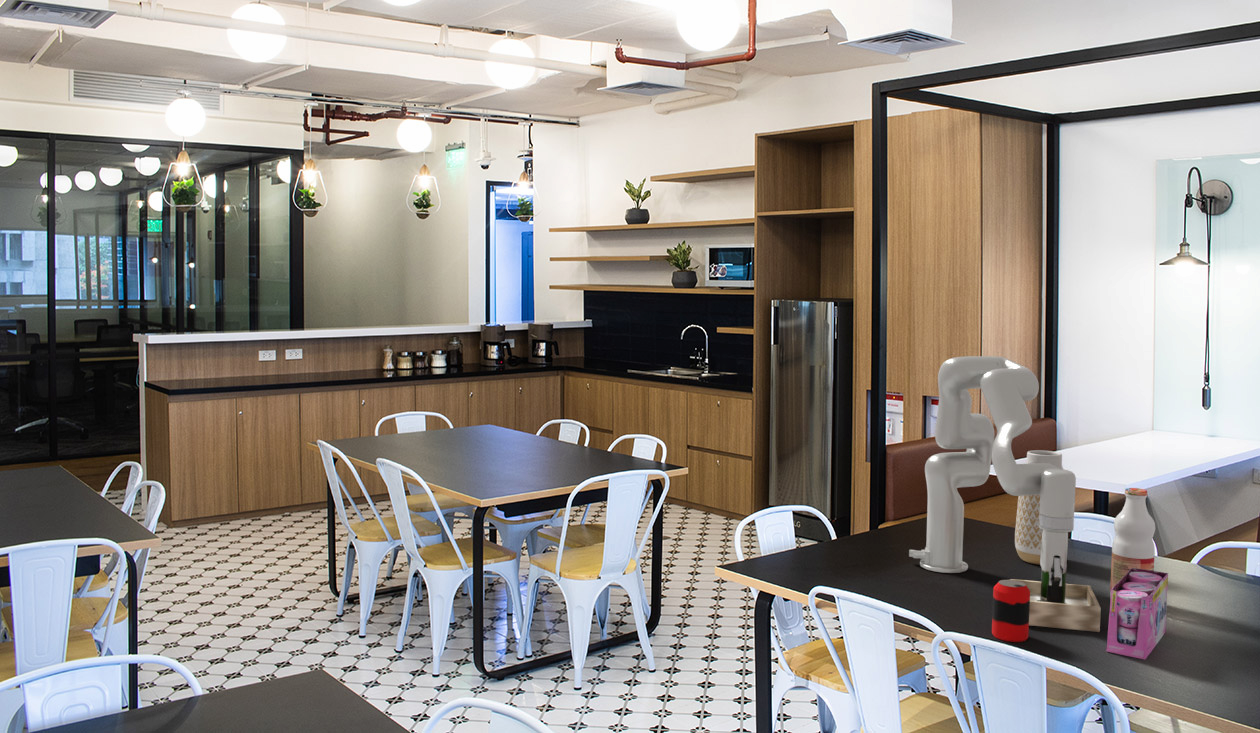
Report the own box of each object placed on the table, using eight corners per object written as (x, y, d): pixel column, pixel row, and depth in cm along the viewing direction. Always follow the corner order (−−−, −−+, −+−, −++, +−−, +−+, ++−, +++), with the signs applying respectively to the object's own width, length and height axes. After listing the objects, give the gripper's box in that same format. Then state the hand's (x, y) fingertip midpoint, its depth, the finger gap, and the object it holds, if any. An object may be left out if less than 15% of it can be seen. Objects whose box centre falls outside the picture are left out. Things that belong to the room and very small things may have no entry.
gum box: (1145, 662, 215) (1148, 598, 214) (1104, 654, 220) (1107, 591, 219) (1166, 631, 234) (1169, 572, 233) (1128, 624, 239) (1130, 566, 238)
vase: (1076, 562, 292) (1081, 454, 289) (1047, 570, 284) (1051, 458, 281) (1033, 551, 303) (1037, 447, 300) (1003, 558, 295) (1007, 451, 293)
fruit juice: (1107, 594, 262) (1112, 484, 259) (1148, 598, 259) (1154, 487, 257) (1112, 605, 253) (1117, 491, 251) (1155, 609, 250) (1161, 494, 248)
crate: (1014, 623, 239) (1015, 600, 238) (1009, 600, 256) (1010, 578, 255) (1099, 631, 234) (1100, 607, 233) (1089, 608, 251) (1089, 585, 250)
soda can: (1009, 644, 225) (1011, 589, 224) (984, 633, 232) (986, 580, 231) (1035, 639, 228) (1038, 586, 227) (1010, 629, 235) (1012, 577, 234)
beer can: (1055, 615, 241) (1057, 564, 240) (1035, 608, 246) (1037, 558, 245) (1069, 611, 244) (1071, 561, 243) (1049, 605, 249) (1051, 555, 248)
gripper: (1035, 513, 252) (1032, 586, 254) (1042, 529, 236) (1038, 607, 237) (1069, 515, 250) (1065, 589, 252) (1078, 532, 234) (1074, 611, 235)
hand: (1052, 597), depth 245 cm, fingers closed on beer can, 5 cm apart
